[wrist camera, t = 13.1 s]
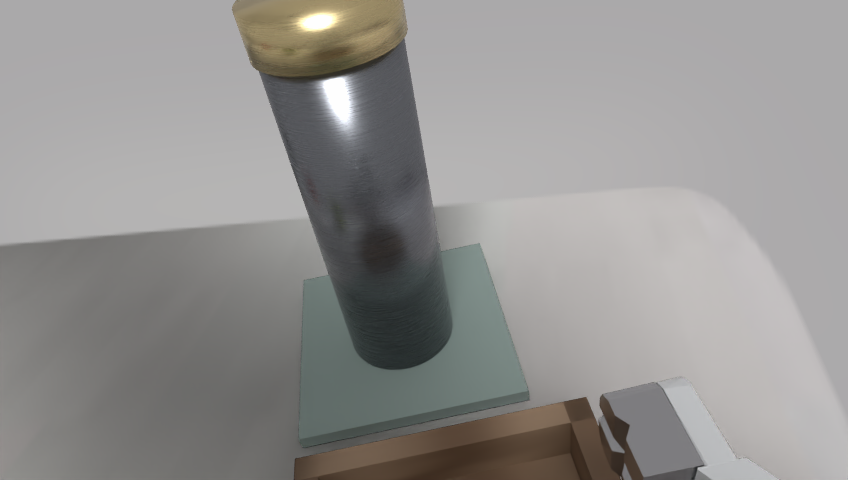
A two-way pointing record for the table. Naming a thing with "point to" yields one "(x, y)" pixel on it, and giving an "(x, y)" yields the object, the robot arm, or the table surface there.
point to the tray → (478, 450)
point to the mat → (413, 387)
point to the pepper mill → (357, 164)
